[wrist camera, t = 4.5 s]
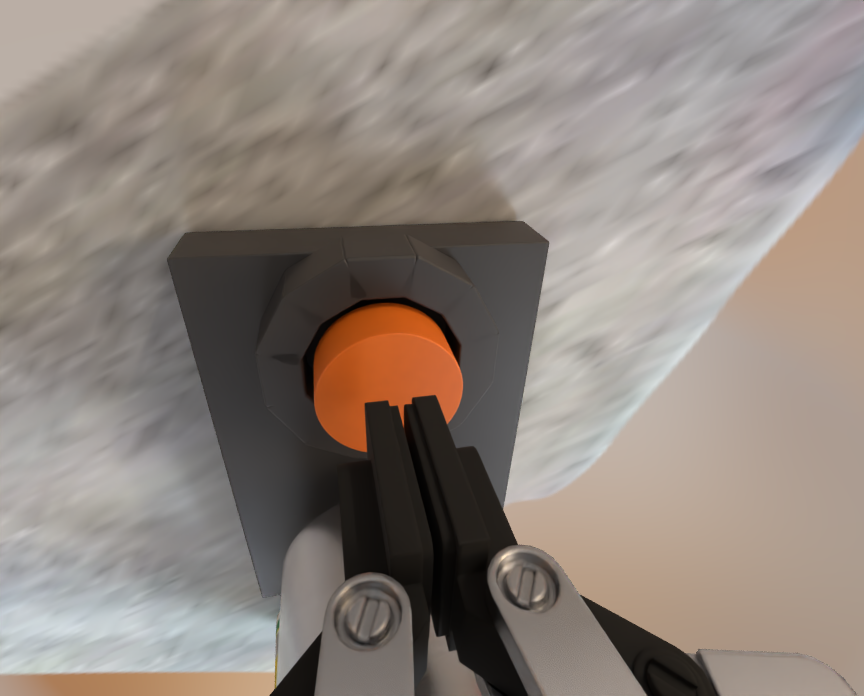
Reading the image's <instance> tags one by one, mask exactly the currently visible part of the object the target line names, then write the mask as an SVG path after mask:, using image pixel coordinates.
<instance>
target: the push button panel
mask: <svg viewBox="0 0 864 696" xmlns="http://www.w3.org/2000/svg"><path fill="white" fill-rule="evenodd" d="M548 247H549V241H548V240H546V239H545V238H544V237H543V236H541V235H540V234H539V233H537V232H536V231H535V230H534V229H532V228H531V227H530V226H529V225H527V224H526V223H525V222H523V221H512V222H482V223H453V224H424V225H395V226H366V227H336V228H307V229H278V230H249V231H220V232H190V233H185V234H184V235H183V236H182V238H181V239H180V241H179V242H178V244H177V245H176V247H175V248H174V250H173V251H172V252H171V254H170V255H169V257H168V258H167V261H168V265H169V268H170V272H171V275H172V279H173V282H174V286H175V289H176V293H177V297H178V300H179V304H180V307H181V311H182V314H183V318H184V321H185V325H186V328H187V332H188V336H189V339H190V343H191V346H192V350H193V353H194V357H195V360H196V364H197V367H198V371H199V374H200V378H201V382H202V385H203V389H204V392H205V396H206V399H207V403H208V406H209V410H210V413H211V417H212V421H213V424H214V428H215V431H216V435H217V438H218V442H219V445H220V449H221V452H222V456H223V460H224V463H225V467H226V470H227V474H228V477H229V481H230V484H231V488H232V491H233V495H234V498H235V502H236V506H237V509H238V513H239V516H240V520H241V523H242V527H243V530H244V534H245V537H246V541H247V545H248V548H249V552H250V555H251V559H252V562H253V566H254V569H255V573H256V576H257V580H258V584H259V587H260V591H261V594H262V597H263V598H265V597H270V596H276V595H281V584H282V568H283V561H284V558H285V555H286V552H287V550H288V548H289V546H290V544H291V543H292V541H293V540H294V539H295V537H296V536H297V535H298V533H299V532H300V531H301V530H302V529H303V528H304V527H305V526H306V525H307V524H308V523H310V522H311V521H312V520H314V519H315V518H316V517H317V516H319V515H320V514H322V513H324V512H325V511H327V510H328V509H330V508H332V507H334V506H336V505H338V504H339V489H338V475H337V464H344V463H351V462H358V461H365V460H367V452H363V451H358V450H355V449H352V448H349V447H347V446H345V445H343V444H341V443H339V442H338V441H336V440H335V439H334V438H332V437H331V436H330V435H329V434H328V433H327V432H326V431H325V429H324V428H323V427H322V425H321V423H320V422H319V420H318V417H317V415H316V412H315V407H314V368H313V362H314V354H315V351H316V347H317V345H318V343H319V341H320V339H321V337H322V336H323V334H324V333H325V331H326V330H327V329H328V328H329V327H330V326H331V325H332V324H333V323H334V322H335V321H336V320H337V319H339V318H340V317H342V316H343V315H345V314H346V313H348V312H350V311H352V310H354V309H357V308H360V307H362V306H366V305H370V304H376V303H397V304H403V305H407V306H410V307H413V308H415V309H418V310H420V311H421V312H423V313H425V314H426V315H428V316H429V317H430V318H432V319H433V320H434V321H435V322H436V323H437V325H438V326H439V327H440V329H441V330H442V332H443V334H444V336H445V338H446V340H447V342H448V344H449V347H450V349H451V351H452V353H453V355H454V357H455V359H456V361H457V363H458V365H459V368H460V371H461V374H462V379H463V392H462V398H461V401H460V404H459V407H458V409H457V411H456V413H455V414H454V416H453V417H452V419H451V420H450V421H449V423H448V424H447V425H448V428H449V430H450V433H451V436H452V438H453V441H454V444H455V446H456V448H461V447H468V446H474V447H475V448H476V449H477V451H478V453H479V455H480V457H481V460H482V462H483V464H484V467H485V469H486V471H487V474H488V476H489V478H490V481H491V483H492V485H493V488H494V490H495V492H496V495H497V497H498V499H499V502H500V504H501V506H502V509H503V507H504V501H505V495H506V490H507V484H508V478H509V472H510V466H511V461H512V455H513V449H514V443H515V438H516V432H517V426H518V420H519V415H520V409H521V403H522V397H523V391H524V386H525V380H526V374H527V368H528V363H529V357H530V351H531V345H532V340H533V334H534V328H535V322H536V316H537V311H538V305H539V299H540V293H541V288H542V282H543V276H544V270H545V264H546V259H547V253H548Z"/></svg>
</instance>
